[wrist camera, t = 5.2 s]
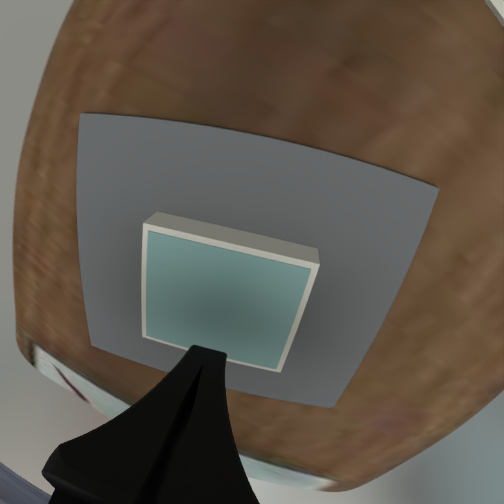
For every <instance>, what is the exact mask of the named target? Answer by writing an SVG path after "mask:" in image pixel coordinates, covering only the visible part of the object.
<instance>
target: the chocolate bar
mask: <svg viewBox="0 0 504 504" xmlns="http://www.w3.org/2000/svg"><path fill="white" fill-rule="evenodd" d="M484 1H485V3H486V4H487V5H488V7H489V8H490V9H491V11H492V12H493V13H494V15H495V16H496V17H497V19H498V20H499V22H500V23H501V25H502V26H503V28H504V0H484Z"/></svg>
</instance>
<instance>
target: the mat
mask: <svg viewBox="0 0 504 504" xmlns="http://www.w3.org/2000/svg"><path fill="white" fill-rule="evenodd" d="M438 192H439V188H438V187H436V186H434V185H432V184H429V183H426V182H424V181H421V180H418V179H415V178H413V177H410V176H407V175H404V174H401V173H398V172H395V171H392V170H389V169H386V168H383V167H380V166H377V165H374V164H371V163H367V162H364V161H361V160H358V159H354V158H351V157H347V156H344V155H340V154H337V153H333V152H329V151H326V150H322V149H318V148H314V147H310V146H306V145H302V144H298V143H294V142H290V141H286V140H281V139H277V138H272V137H268V136H263V135H258V134H253V133H248V132H243V131H238V130H232V129H227V128H221V127H215V126H209V125H203V124H197V123H190V122H183V121H175V120H167V119H159V118H150V117H141V116H130V115H118V114H104V113H80V122H79V135H78V151H77V229H78V246H79V259H80V270H81V280H82V288H83V296H84V304H85V311H86V317H87V323H88V329H89V335H90V340H91V345H92V346H94V347H97V348H99V349H102V350H105V351H107V352H110V353H112V354H115V355H118V356H121V357H123V358H126V359H129V360H132V361H135V362H138V363H141V364H143V365H146V366H149V367H153V368H156V369H159V370H162V371H165V372H168V373H169V372H170V371H171V370H172V369H173V368H174V367H175V366H176V364H177V363H178V362H179V361H180V360H181V359H182V357H183V356H184V355H185V353H186V352H187V351H188V350H184V349H181V348H177V347H174V346H171V345H167V344H164V343H161V342H157V341H154V340H151V339H148V338H145V337H142V306H141V274H142V237H143V223H144V222H145V221H146V220H147V219H148V218H150V217H151V216H152V215H153V214H154V213H156V212H162V213H166V214H171V215H175V216H180V217H184V218H189V219H193V220H198V221H202V222H207V223H211V224H215V225H220V226H224V227H228V228H233V229H237V230H242V231H246V232H250V233H254V234H259V235H263V236H267V237H271V238H276V239H280V240H284V241H288V242H293V243H297V244H301V245H305V246H309V247H313V248H317V249H318V253H319V261H320V266H319V269H318V272H317V275H316V278H315V280H314V283H313V286H312V289H311V292H310V295H309V298H308V301H307V303H306V306H305V309H304V312H303V315H302V317H301V320H300V323H299V326H298V328H297V331H296V334H295V336H294V339H293V342H292V344H291V347H290V349H289V352H288V355H287V357H286V360H285V362H284V365H283V367H282V370H281V372H275V371H270V370H265V369H260V368H256V367H251V366H247V365H242V364H238V363H234V362H230V361H226V367H225V388H227V389H231V390H235V391H240V392H244V393H249V394H253V395H258V396H263V397H268V398H273V399H278V400H284V401H289V402H295V403H301V404H308V405H314V406H321V407H328V408H333V407H334V405H335V404H336V402H337V401H338V399H339V398H340V396H341V395H342V393H343V391H344V390H345V388H346V387H347V385H348V383H349V382H350V380H351V378H352V377H353V375H354V373H355V372H356V370H357V368H358V367H359V365H360V363H361V362H362V360H363V358H364V356H365V355H366V353H367V351H368V349H369V348H370V346H371V344H372V342H373V340H374V338H375V337H376V335H377V333H378V331H379V329H380V327H381V325H382V323H383V321H384V319H385V318H386V316H387V314H388V312H389V310H390V308H391V306H392V304H393V301H394V299H395V297H396V295H397V293H398V291H399V289H400V287H401V285H402V282H403V280H404V278H405V276H406V274H407V271H408V269H409V267H410V265H411V262H412V260H413V258H414V255H415V253H416V250H417V248H418V246H419V243H420V241H421V238H422V236H423V233H424V230H425V228H426V225H427V223H428V220H429V217H430V214H431V212H432V209H433V206H434V203H435V200H436V198H437V195H438Z"/></svg>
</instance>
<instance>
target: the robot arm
mask: <svg viewBox="0 0 504 504" xmlns="http://www.w3.org/2000/svg"><path fill="white" fill-rule="evenodd" d="M226 360H227V354H226V353H225V352H221V351H217V350H213V349H209V348H206V347H202V346H198V345H191V346H190V348H189V349H188V351H187V352H186V353H185V355H184V356H183V357H182V359H181V360H180V361H179V362H178V363H177V364H176V366H175V367H174V368H173V369H172V370H171V371H170V372H169V373H168V374H167V375H166V376H165V377H164V378H163V379H162V380H161V381H160V382H159V383H158V384H157V385H156V386H155V387H154V388H153V389H152V390H151V391H150V392H148V393H147V394H146V395H145V396H144V397H143V398H141V399H140V400H139V401H138V402H136V403H135V404H134V405H132V406H131V407H130V408H128V409H127V410H126V411H124V412H123V413H121V414H120V415H118V416H117V417H115V418H113V419H112V420H110V421H109V422H107V423H105V424H103V425H101V426H100V427H98V428H96V429H94V430H92V431H90V432H88V433H86V434H84V435H82V436H79V437H77V438H74V439H72V440H69V441H67V442H64V443H62V444H60V445H59V446H58V447H57V448H56V449H55V450H54V452H53V453H52V454H51V455H50V457H49V459H48V460H47V462H46V464H45V466H44V468H43V470H42V475H43V476H44V478H45V479H46V480H47V481H48V482H49V483H50V484H51V485H52V486H53V487H54V488H55V490H54V492H53V494H52V496H51V495H49V494H47V493H46V492H44V491H42V490H41V489H39V488H37V487H36V486H34V485H32V484H31V483H30V482H28V481H27V480H25V479H23V478H22V477H20V476H19V475H17V474H16V473H15V472H13V471H12V470H10V469H9V468H8V467H6V466H5V465H4V464H2V463H1V462H0V504H260V503H259V502H258V500H257V498H256V496H255V494H254V492H253V490H252V488H251V485H250V483H249V481H248V478H247V476H246V474H245V471H244V468H243V466H242V463H241V460H240V457H239V455H238V451H237V448H236V445H235V441H234V437H233V433H232V429H231V425H230V420H229V414H228V408H227V400H226V389H225V367H226Z"/></svg>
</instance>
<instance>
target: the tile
mask: <svg viewBox="0 0 504 504" xmlns="http://www.w3.org/2000/svg"><path fill="white" fill-rule="evenodd" d="M319 266H320V261H319V253H318V249H317V248H313V247H309V246H305V245H301V244H297V243H293V242H288V241H284V240H280V239H276V238H271V237H267V236H263V235H259V234H254V233H250V232H246V231H242V230H237V229H233V228H228V227H224V226H220V225H215V224H211V223H207V222H202V221H198V220H193V219H189V218H184V217H180V216H175V215H171V214H166V213H162V212H156V213H154V214H153V215H152V216H151V217H150V218H148V219H147V220H146V221H145V222H144V223H143V237H142V274H141V306H142V337H145V338H148V339H151V340H154V341H157V342H161V343H164V344H167V345H171V346H174V347H177V348H181V349H184V350H188V349H189V348H190V346H191V345H198V346H202V347H206V348H209V349H213V350H217V351H221V352H225V353H226V354H227V360H226V361H230V362H234V363H238V364H242V365H247V366H251V367H256V368H260V369H265V370H270V371H275V372H281V370H282V367H283V365H284V362H285V360H286V357H287V355H288V352H289V349H290V347H291V344H292V342H293V339H294V336H295V334H296V331H297V328H298V326H299V323H300V320H301V317H302V315H303V312H304V309H305V306H306V303H307V301H308V298H309V295H310V292H311V289H312V286H313V283H314V280H315V278H316V275H317V272H318V269H319Z"/></svg>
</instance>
